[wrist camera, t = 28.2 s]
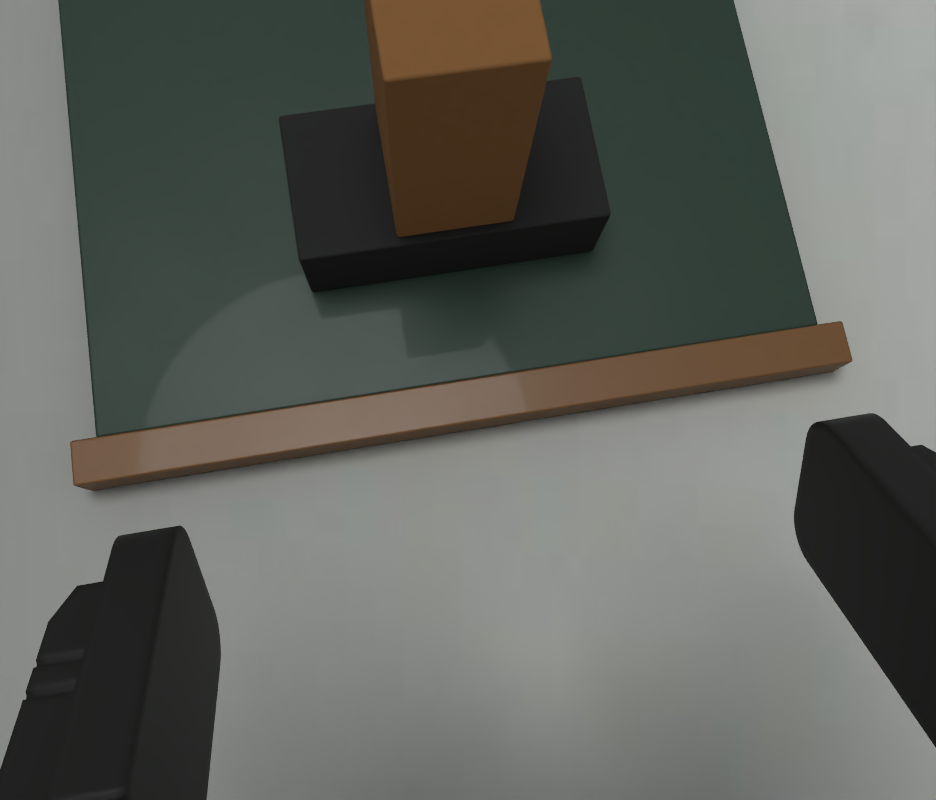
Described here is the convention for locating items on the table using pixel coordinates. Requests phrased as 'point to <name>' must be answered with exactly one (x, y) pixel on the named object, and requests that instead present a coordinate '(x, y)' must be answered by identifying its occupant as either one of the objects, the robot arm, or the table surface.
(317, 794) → the table surface
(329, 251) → the eraser
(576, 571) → the table surface
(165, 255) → the chalkboard
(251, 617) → the table surface
